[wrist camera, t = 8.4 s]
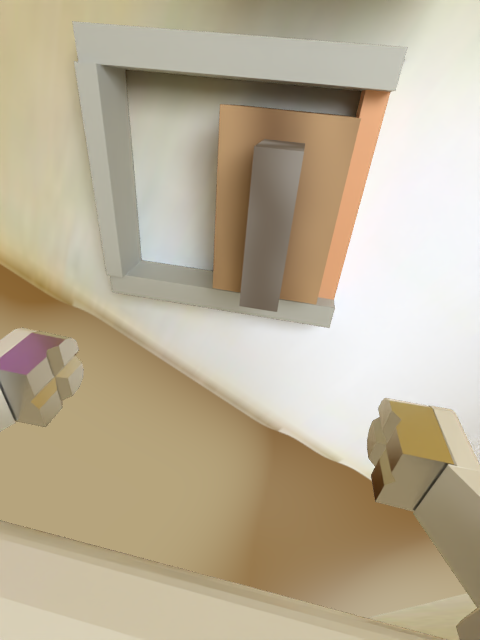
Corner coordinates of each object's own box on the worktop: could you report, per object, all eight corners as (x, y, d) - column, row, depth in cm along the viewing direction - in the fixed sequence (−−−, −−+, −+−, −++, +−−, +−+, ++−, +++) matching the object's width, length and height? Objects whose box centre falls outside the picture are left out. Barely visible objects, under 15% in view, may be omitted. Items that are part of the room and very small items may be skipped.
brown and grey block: (350, 116, 23) (374, 121, 15) (315, 271, 30) (317, 339, 21) (238, 105, 24) (198, 103, 15) (228, 259, 31) (196, 318, 22)
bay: (394, 55, 21) (409, 45, 18) (327, 307, 32) (329, 331, 28) (101, 32, 23) (67, 19, 20) (129, 276, 34) (109, 294, 30)
